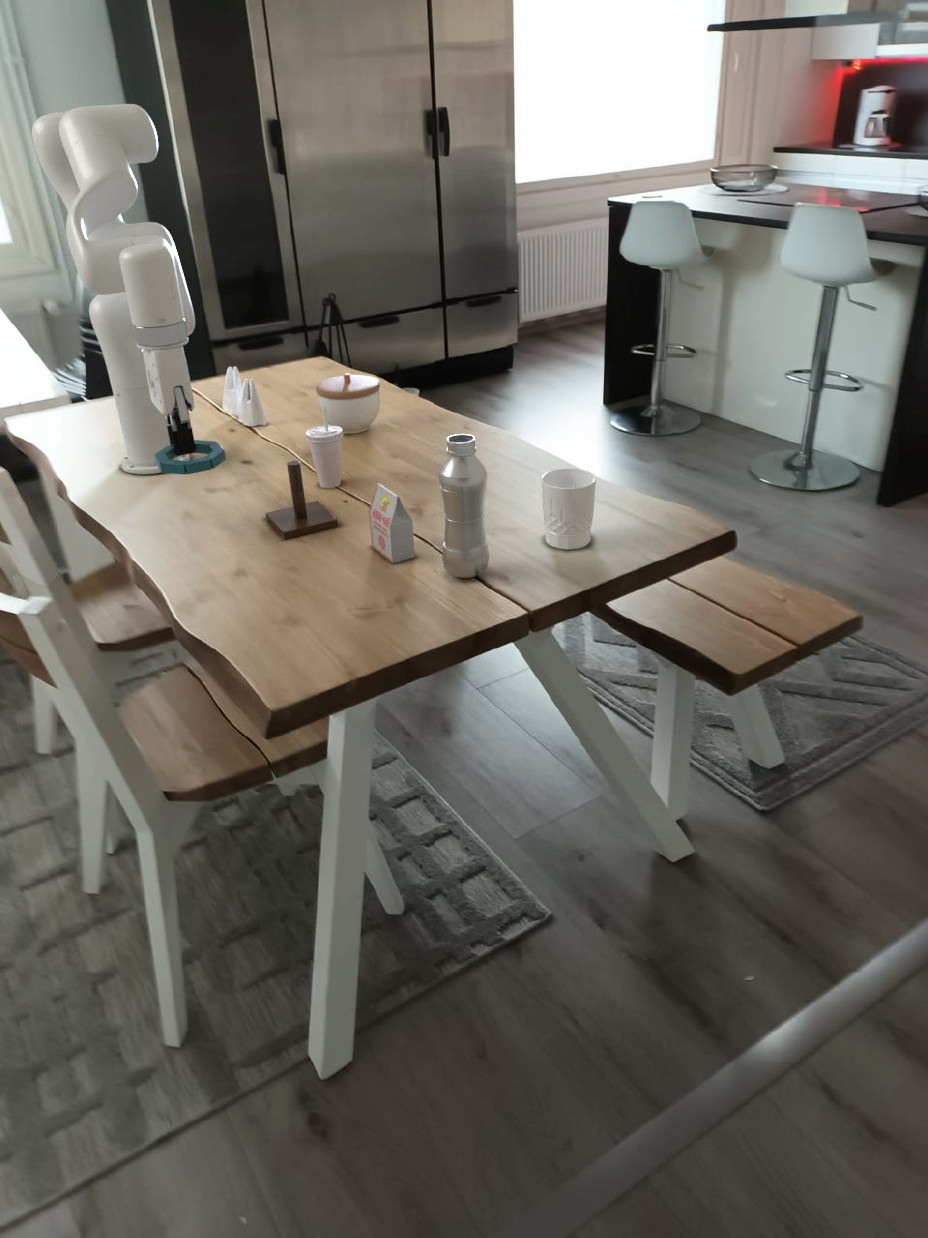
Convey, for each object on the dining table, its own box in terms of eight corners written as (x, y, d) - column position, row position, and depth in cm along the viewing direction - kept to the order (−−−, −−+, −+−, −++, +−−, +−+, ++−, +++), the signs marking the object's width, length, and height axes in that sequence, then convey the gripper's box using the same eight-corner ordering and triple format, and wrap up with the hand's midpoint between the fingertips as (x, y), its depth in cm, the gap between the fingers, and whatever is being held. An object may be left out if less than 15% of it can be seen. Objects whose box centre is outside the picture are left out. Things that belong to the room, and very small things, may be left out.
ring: (151, 458, 149) (149, 448, 149) (213, 445, 153) (212, 436, 153) (166, 479, 142) (164, 469, 141) (231, 465, 146) (230, 455, 145)
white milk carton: (393, 540, 145) (388, 479, 140) (414, 556, 140) (410, 494, 135) (372, 547, 144) (366, 485, 139) (392, 563, 139) (387, 500, 134)
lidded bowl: (395, 423, 194) (391, 369, 189) (357, 442, 185) (351, 386, 180) (347, 414, 200) (341, 362, 195) (308, 432, 191) (301, 378, 186)
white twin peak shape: (222, 416, 203) (213, 365, 197) (240, 412, 205) (231, 360, 200) (250, 429, 195) (241, 375, 189) (268, 424, 197) (259, 371, 191)
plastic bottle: (441, 564, 138) (433, 432, 128) (487, 560, 138) (483, 428, 128) (444, 585, 132) (436, 448, 122) (492, 581, 133) (488, 445, 123)
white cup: (580, 555, 138) (581, 492, 133) (532, 545, 142) (532, 482, 137) (602, 535, 144) (605, 473, 139) (556, 525, 148) (557, 464, 143)
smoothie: (341, 491, 164) (332, 412, 156) (306, 490, 165) (296, 411, 158) (353, 477, 169) (344, 400, 162) (318, 476, 170) (309, 400, 163)
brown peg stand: (266, 519, 155) (256, 460, 149) (318, 507, 158) (310, 448, 153) (284, 539, 148) (275, 477, 143) (338, 525, 151) (331, 465, 146)
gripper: (124, 326, 146) (149, 440, 155) (147, 349, 134) (172, 471, 143) (173, 319, 148) (194, 431, 158) (200, 341, 137) (221, 461, 146)
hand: (183, 449), depth 151 cm, fingers closed on ring, 1 cm apart
